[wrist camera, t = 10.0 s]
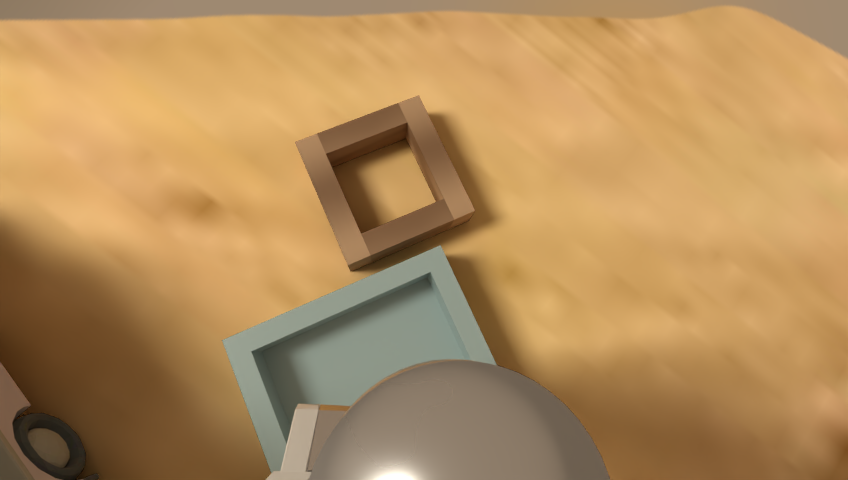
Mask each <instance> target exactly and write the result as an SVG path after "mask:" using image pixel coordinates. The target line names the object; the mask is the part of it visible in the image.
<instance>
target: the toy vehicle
mask: <svg viewBox="0 0 848 480" xmlns="http://www.w3.org/2000/svg"><path fill="white" fill-rule="evenodd" d="M30 406H31V404H30V403H29V402H28V400H27V399H26V397H25V396H24V395H23V393H22V392H21V390H20V389H19V388H18V386H17V385H16V383H15V382H14V381H13V379H12V378H11V376H10V375H9V374H8V372H7V371H6V369H5V368H4V366H3V365H2V364H1V362H0V480H75V479H76V478H77V477H78V475H79V474H80V473H81V472H82V470H83V468H84V466H85V459H86V453H85V450H84V447H83V445H82V442H81V440H80V438H79V436H78V435H77V434H76V433H75V432H74V431H73V430H72V429H71V428H70V427H69V426H68V425H67V424H66V423H64V422H63V421H61V420H60V419H58V418H55V417H53V416H50V415H47V414H44V413H32V414H28V415H25V416H23V417H20V418H18V419H16V418H17V417H18V416H19V415H21V414H22V413H23V412H24V411H25V410H26V409H27V408H29V407H30ZM15 419H16V420H15ZM98 478H99V475H98V474H97V473H96V474H93V475H91V476H88V477H86V478H84V479H81V480H97V479H98Z"/></svg>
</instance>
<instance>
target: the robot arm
mask: <svg viewBox="0 0 848 480" xmlns="http://www.w3.org/2000/svg"><path fill="white" fill-rule="evenodd" d="M350 407H351V406H341V405H322V404H298V405H297V407H296V409H295V412H294V416H293V421H292V425H291V429H290V433H289V437H288V441H287V445H286V450H285V454H284V458H283V462H282V466H281V470H280V471H273V472H272V473H271V474H270V475H269V476H268V477H267V479H266V480H309V477H310V474H311V472H312V469H313V466H314V463H315V461H316V459H317V457H318V455H319V453H320V451H321V449H322V447H323V445H324V443H325V442H326V440H327V439H328V437H329V436H330V434H331V433H332V431H333V429H334V428H335V426H336V425H337V424H338V422H339V421H340V419H341V418H342V416H343V415H344V414H345V413H346V411H347V410H348V409H349V408H350Z"/></svg>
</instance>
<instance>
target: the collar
mask: <svg viewBox="0 0 848 480" xmlns="http://www.w3.org/2000/svg"><path fill="white" fill-rule="evenodd" d="M403 139H407V142H408V144H409V146H410V148H411V150H412V152H413V154H414V156H415V158H416V160H417V163H418V165H419V167H420V169H421V171H422V173H423V175H424V177H425V179H426V181H427V184H428V186H429V188H430V190H431V192H432V194H433V196H434V198H435V200H436V202H435V203H433V204H431V205H428V206H426V207H424V208H421V209H419V210H416V211H414V212H412V213H409V214H407V215H404V216H402V217H400V218H397V219H395V220H393V221H390V222H388V223H385V224H383V225H381V226H378V227H376V228H373V229H371V230H369V231H366V232H364V233H360V230H359V228H358V226H357V224H356V221H355V219H354V217H353V214H352V212H351V210H350V208H349V205H348V203H347V201H346V199H345V196H344V194H343V192H342V190H341V187H340V185H339V183H338V180H337V178H336V176H335V174H334V171H333V169H332V167H334V166H337V165H339V164H342V163H344V162H347V161H349V160H352V159H354V158H357V157H360V156H362V155H365V154H367V153H370V152H372V151H375V150H377V149H380V148H383V147H385V146H388V145H390V144H393V143H395V142H398V141H400V140H403ZM295 143H296V146H297V148H298V150H299V153H300V155H301V157H302V160H303V162H304V164H305V167H306V169H307V171H308V174H309V176H310V178H311V181H312V183H313V185H314V188H315V190H316V192H317V195H318V197H319V199H320V202H321V204H322V206H323V209H324V211H325V213H326V215H327V218H328V220H329V222H330V225H331V227H332V229H333V232H334V234H335V236H336V239H337V241H338V243H339V246H340V248H341V250H342V253H343V255H344V257H345V260H346V262H347V264H348V267H349V269H350V271H353V270H355V269H358V268H360V267H362V266H365V265H367V264H369V263H372V262H374V261H376V260H379V259H381V258H383V257H386V256H388V255H390V254H393V253H395V252H397V251H400V250H402V249H404V248H406V247H409V246H411V245H413V244H416V243H418V242H420V241H423V240H425V239H427V238H430V237H432V236H434V235H437V234H439V233H441V232H444V231H446V230H448V229H451V228H453V227H455V226H458V225H460V224H462V223H464V222H467V221H469V219H470V218H471V216H472V215H473V213H474V212H475V209H474V207H473V205H472V203H471V201H470V199H469V197H468V195H467V193H466V191H465V189H464V187H463V185H462V183H461V181H460V179H459V176H458V174H457V172H456V170H455V168H454V166H453V164H452V162H451V160H450V158H449V156H448V154H447V152H446V150H445V148H444V146H443V144H442V142H441V140H440V138H439V136H438V134H437V132H436V130H435V127H434V125H433V123H432V121H431V119H430V117H429V115H428V113H427V111H426V109H425V107H424V105H423V103H422V101H421V99H420V97H419V95H418V96H416V97H413V98H410V99H408V100H405V101H402V102H400V103H397V104H394V105H392V106H389V107H387V108H384V109H381V110H379V111H376V112H373V113H371V114H368V115H365V116H363V117H360V118H357V119H355V120H352V121H349V122H347V123H344V124H342V125H339V126H336V127H334V128H331V129H328V130H326V131H323V132H320V133H318V134H315V135H312V136H310V137H307V138H304V139H302V140H299V141H296V142H295Z"/></svg>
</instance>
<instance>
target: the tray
mask: <svg viewBox="0 0 848 480" xmlns="http://www.w3.org/2000/svg"><path fill="white" fill-rule="evenodd" d="M222 341H223V344H224V347H225V349H226V352H227V355H228V358H229V360H230V363H231V366H232V368H233V371H234V374H235V376H236V379H237V382H238V385H239V387H240V390H241V393H242V395H243V398H244V401H245V403H246V406H247V409H248V412H249V414H250V417H251V420H252V422H253V425H254V428H255V430H256V433H257V436H258V439H259V441H260V444H261V447H262V449H263V452H264V455H265V457H266V460H267V463H268V466H269V468H270V471H271V473H272V472H273V471H280V470H281V466H282V462H283V458H284V454H285V450H286V445H287V441H288V437H289V433H290V429H291V425H292V421H293V416H294V412H295V409H296V407H297V405H298V404H322V405H341V406H352V404H353V403H354V402H355V401H356V400H357V399H358V398H359V397H360V396H361V395H362V394H363V393H365V392H366V391H367V390H368V389H369V388H370V387H372V386H373V385H375V384H376V383H377V382H379V381H380V380H382V379H383V378H385V377H387V376H389V375H390V374H392V373H394V372H396V371H398V370H400V369H403V368H406V367H409V366H411V365H414V364H417V363H422V362H427V361H431V360H441V359H462V360H471V361H478V362H483V363H488V364H493V365H497V364H496V362H495V360H494V358H493V356H492V354H491V352H490V349H489V347H488V345H487V343H486V341H485V339H484V337H483V335H482V332H481V330H480V328H479V326H478V324H477V322H476V320H475V318H474V315H473V313H472V311H471V309H470V307H469V305H468V303H467V301H466V298H465V296H464V294H463V292H462V290H461V288H460V286H459V283H458V281H457V279H456V277H455V275H454V273H453V271H452V269H451V266H450V264H449V262H448V260H447V258H446V256H445V254H444V252H443V249H442V247H441V245H440V246H438V247H435V248H433V249H431V250H428V251H426V252H424V253H421V254H419V255H417V256H415V257H412V258H410V259H408V260H405V261H403V262H401V263H399V264H396V265H394V266H392V267H389V268H387V269H385V270H382V271H380V272H378V273H376V274H373V275H371V276H369V277H366V278H364V279H362V280H359V281H357V282H355V283H353V284H350V285H348V286H346V287H343V288H341V289H339V290H337V291H334V292H332V293H330V294H327V295H325V296H323V297H320V298H318V299H316V300H314V301H311V302H309V303H307V304H304V305H302V306H300V307H297V308H295V309H293V310H291V311H288V312H286V313H284V314H281V315H279V316H277V317H275V318H272V319H270V320H268V321H265V322H263V323H261V324H258V325H256V326H254V327H252V328H249V329H247V330H245V331H242V332H240V333H238V334H235V335H233V336H231V337H229V338H226V339H224V340H222Z"/></svg>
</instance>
